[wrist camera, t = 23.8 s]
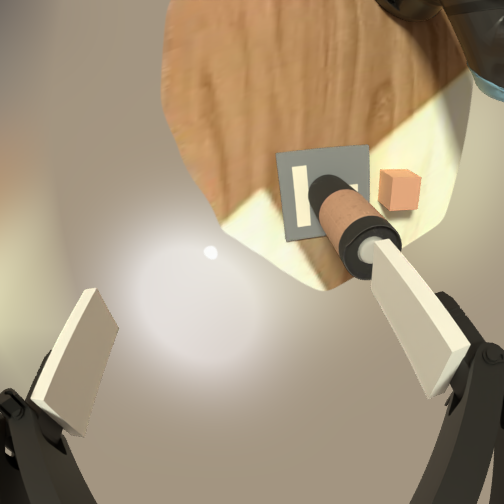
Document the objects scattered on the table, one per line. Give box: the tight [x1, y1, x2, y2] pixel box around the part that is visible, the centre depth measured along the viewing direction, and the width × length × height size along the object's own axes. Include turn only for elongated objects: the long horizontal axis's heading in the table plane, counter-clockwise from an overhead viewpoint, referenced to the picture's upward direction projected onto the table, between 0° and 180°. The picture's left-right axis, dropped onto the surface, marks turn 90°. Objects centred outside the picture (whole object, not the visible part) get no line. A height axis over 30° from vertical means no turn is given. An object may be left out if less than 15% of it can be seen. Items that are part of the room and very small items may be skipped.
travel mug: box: [308, 174, 402, 280], centre depth 40 cm, size 8×8×20 cm
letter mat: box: [276, 145, 370, 241], centre depth 49 cm, size 16×16×1 cm
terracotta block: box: [378, 169, 421, 211], centre depth 47 cm, size 6×6×5 cm
